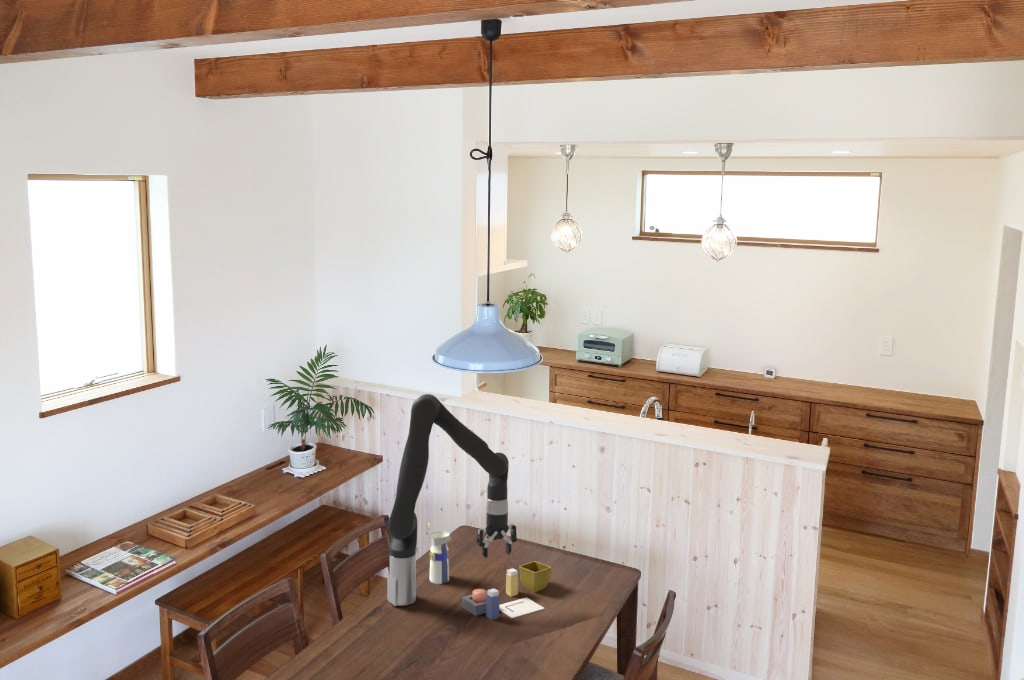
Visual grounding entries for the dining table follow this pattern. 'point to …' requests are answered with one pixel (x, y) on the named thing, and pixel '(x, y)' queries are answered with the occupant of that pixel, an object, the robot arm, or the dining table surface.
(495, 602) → the block
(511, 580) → the ochre marker
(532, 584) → the flower pot
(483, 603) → the button housing
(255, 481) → the dining table surface
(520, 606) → the paper pad
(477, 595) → the button
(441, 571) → the water bottle
